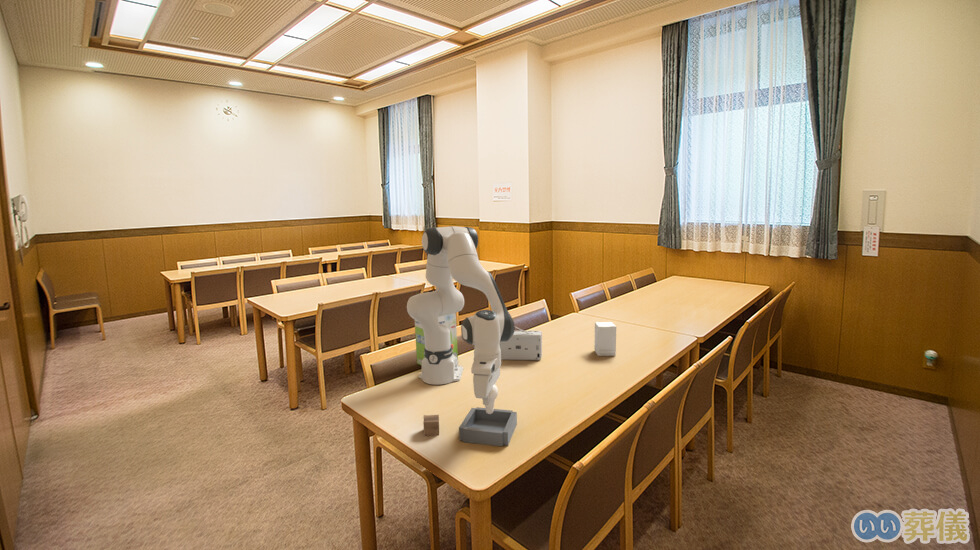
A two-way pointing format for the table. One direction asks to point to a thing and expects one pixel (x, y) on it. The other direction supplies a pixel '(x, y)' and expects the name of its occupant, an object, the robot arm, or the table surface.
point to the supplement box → (605, 339)
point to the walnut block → (431, 425)
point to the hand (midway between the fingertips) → (488, 400)
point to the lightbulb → (491, 400)
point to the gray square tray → (488, 427)
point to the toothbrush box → (420, 341)
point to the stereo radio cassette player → (522, 346)
